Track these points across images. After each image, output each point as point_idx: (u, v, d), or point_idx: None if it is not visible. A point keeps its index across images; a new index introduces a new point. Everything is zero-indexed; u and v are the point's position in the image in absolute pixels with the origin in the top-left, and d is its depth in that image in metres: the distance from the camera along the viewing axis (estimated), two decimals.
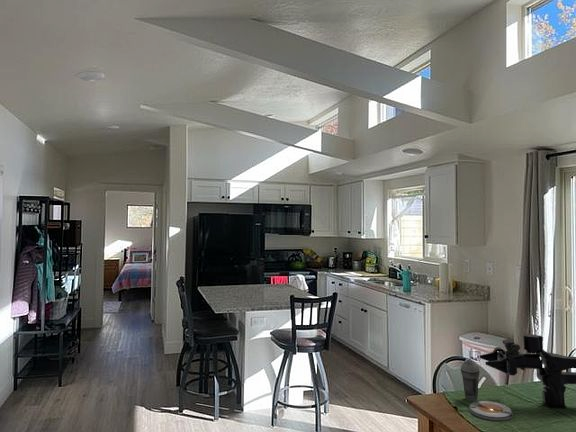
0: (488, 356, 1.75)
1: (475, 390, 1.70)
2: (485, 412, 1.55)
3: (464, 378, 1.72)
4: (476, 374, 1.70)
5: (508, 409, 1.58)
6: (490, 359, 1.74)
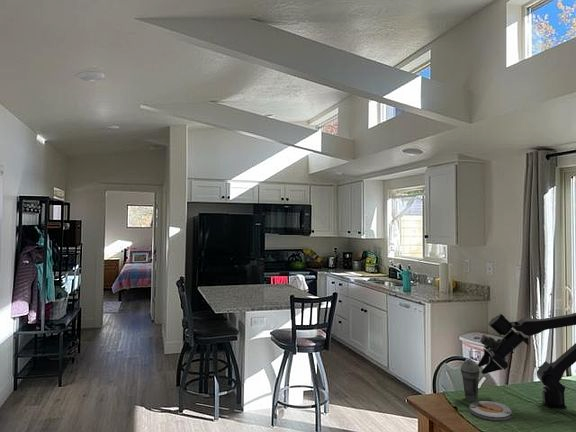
0: (483, 360, 1.76)
1: (475, 390, 1.70)
2: (485, 412, 1.55)
3: (464, 378, 1.72)
4: (476, 374, 1.70)
5: (508, 409, 1.58)
6: (487, 361, 1.76)
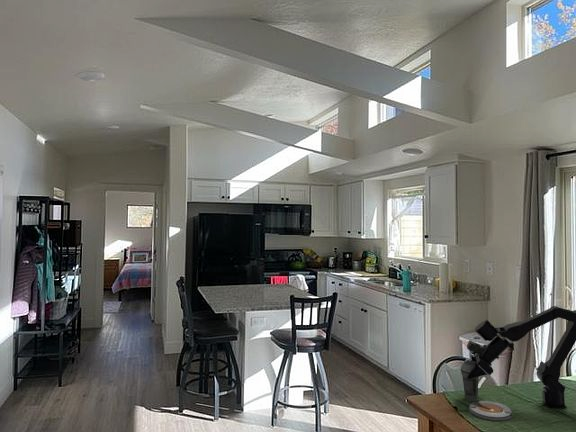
0: None
1: (475, 390, 1.70)
2: (485, 412, 1.55)
3: (464, 378, 1.72)
4: None
5: (508, 409, 1.58)
6: None
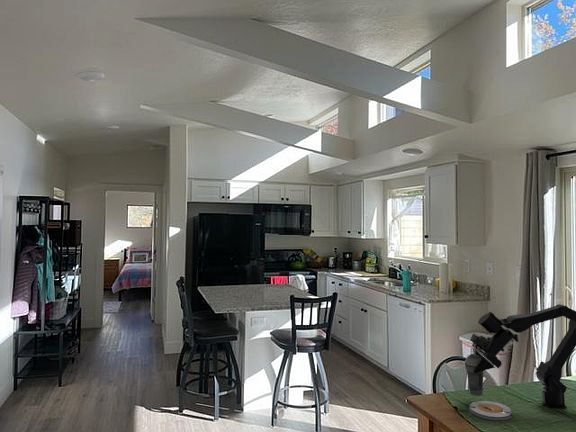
0: None
1: (481, 384, 1.66)
2: (485, 412, 1.55)
3: (469, 373, 1.68)
4: None
5: (508, 409, 1.58)
6: None
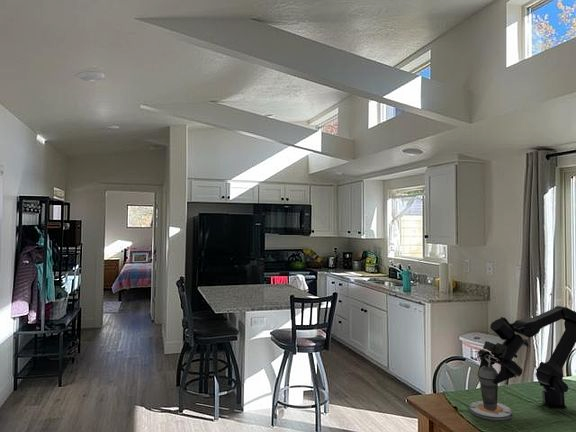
0: None
1: (496, 397, 1.58)
2: (485, 412, 1.55)
3: (486, 386, 1.57)
4: None
5: (508, 409, 1.58)
6: None
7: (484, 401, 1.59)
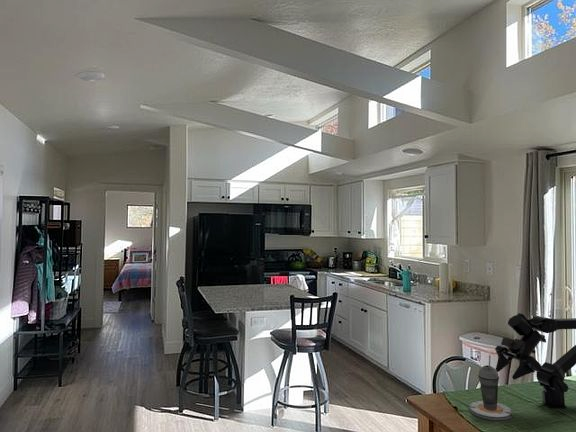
0: (500, 364, 1.66)
1: (496, 397, 1.58)
2: (485, 412, 1.55)
3: (486, 386, 1.57)
4: (498, 380, 1.57)
5: (508, 409, 1.58)
6: (503, 364, 1.67)
7: (484, 401, 1.59)
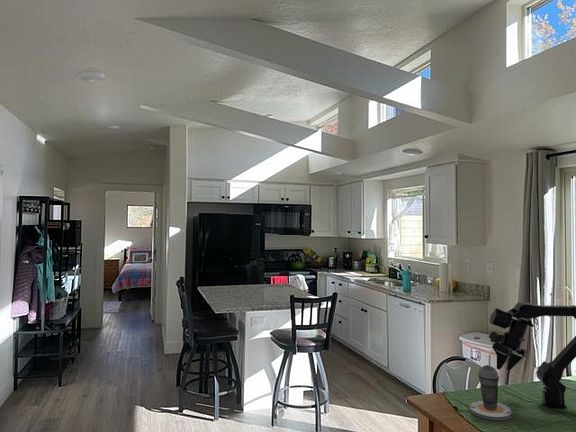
0: (510, 362, 1.72)
1: (496, 397, 1.58)
2: (485, 412, 1.55)
3: (486, 386, 1.58)
4: (498, 380, 1.58)
5: (508, 409, 1.58)
6: (514, 361, 1.71)
7: (484, 401, 1.59)
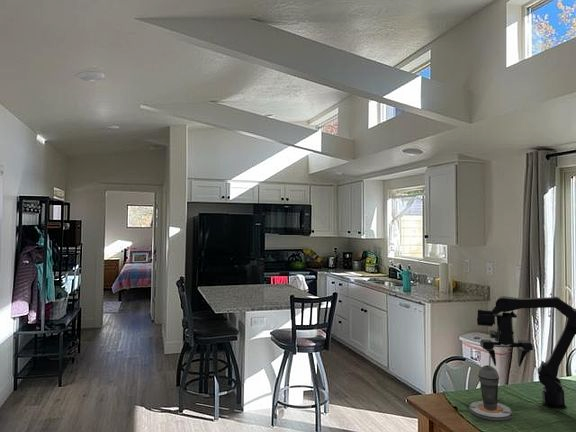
0: (518, 357, 1.73)
1: (496, 397, 1.58)
2: (485, 412, 1.55)
3: (486, 386, 1.58)
4: (498, 380, 1.58)
5: (508, 409, 1.58)
6: (519, 356, 1.72)
7: (484, 401, 1.59)
